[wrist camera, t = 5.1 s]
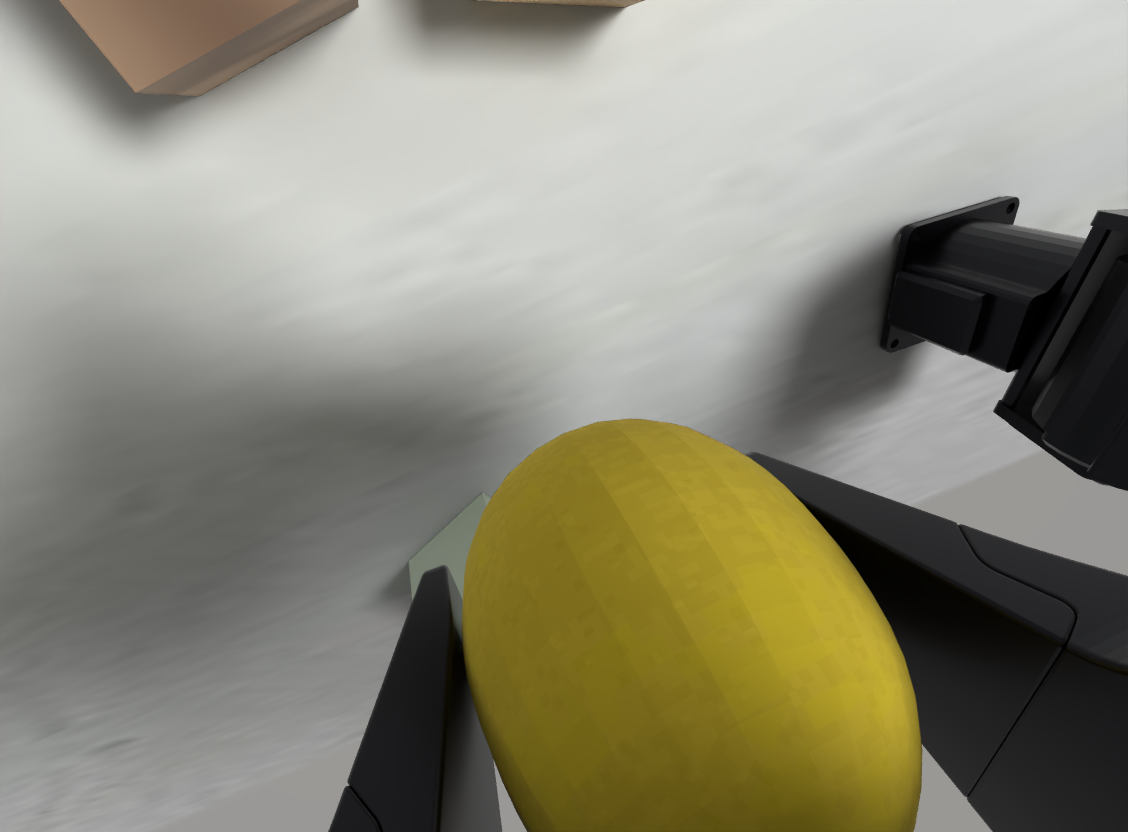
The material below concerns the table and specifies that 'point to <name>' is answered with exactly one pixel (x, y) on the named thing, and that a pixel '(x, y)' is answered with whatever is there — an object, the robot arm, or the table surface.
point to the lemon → (680, 647)
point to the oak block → (579, 2)
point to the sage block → (450, 546)
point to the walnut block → (196, 37)
